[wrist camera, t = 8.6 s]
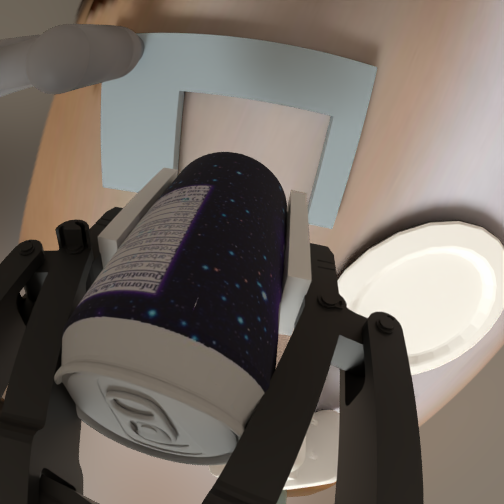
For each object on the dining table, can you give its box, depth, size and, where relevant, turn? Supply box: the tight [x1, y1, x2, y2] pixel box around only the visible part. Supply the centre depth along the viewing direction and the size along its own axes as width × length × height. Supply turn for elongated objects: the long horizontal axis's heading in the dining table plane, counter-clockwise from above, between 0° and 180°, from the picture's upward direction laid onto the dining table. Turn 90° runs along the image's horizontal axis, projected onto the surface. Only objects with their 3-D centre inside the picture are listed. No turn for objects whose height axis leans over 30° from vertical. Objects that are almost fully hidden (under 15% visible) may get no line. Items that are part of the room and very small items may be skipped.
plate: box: [337, 220, 504, 375], centre depth 27 cm, size 21×21×2 cm
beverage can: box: [54, 152, 287, 465], centre depth 11 cm, size 6×6×12 cm
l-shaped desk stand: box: [0, 24, 377, 229], centre depth 14 cm, size 18×12×17 cm, turn 81°
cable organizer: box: [209, 410, 340, 490], centre depth 36 cm, size 15×11×12 cm
